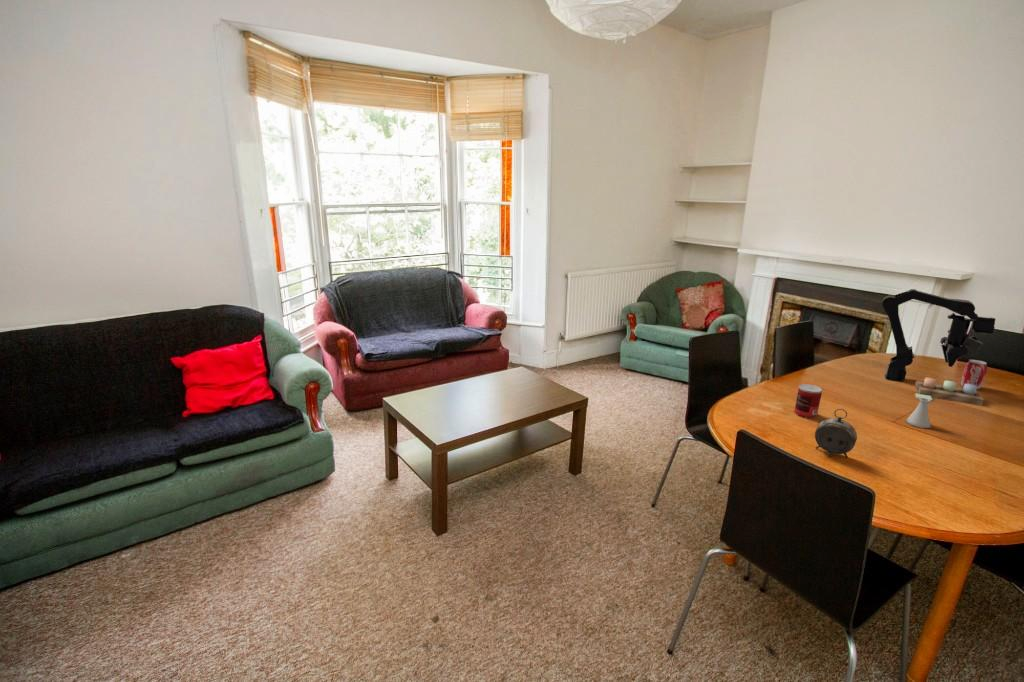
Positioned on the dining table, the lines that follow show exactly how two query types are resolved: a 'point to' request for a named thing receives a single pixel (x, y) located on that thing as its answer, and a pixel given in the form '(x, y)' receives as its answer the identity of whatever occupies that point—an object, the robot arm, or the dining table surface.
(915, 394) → the chip
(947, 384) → the sage button
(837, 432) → the alarm clock
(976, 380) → the soda can
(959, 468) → the dining table surface
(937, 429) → the dining table surface
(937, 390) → the button board
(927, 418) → the flask
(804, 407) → the canned food
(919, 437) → the dining table surface
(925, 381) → the terracotta button
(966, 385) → the grey rounded piece
